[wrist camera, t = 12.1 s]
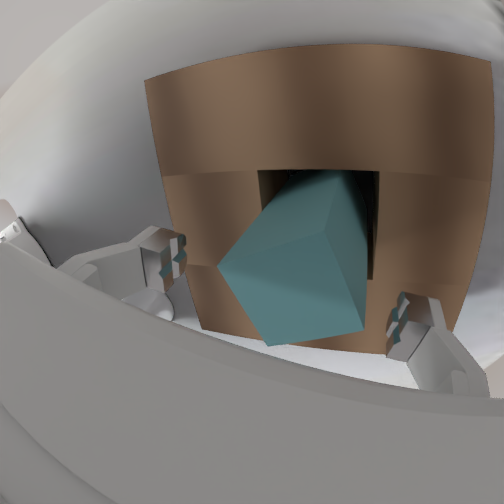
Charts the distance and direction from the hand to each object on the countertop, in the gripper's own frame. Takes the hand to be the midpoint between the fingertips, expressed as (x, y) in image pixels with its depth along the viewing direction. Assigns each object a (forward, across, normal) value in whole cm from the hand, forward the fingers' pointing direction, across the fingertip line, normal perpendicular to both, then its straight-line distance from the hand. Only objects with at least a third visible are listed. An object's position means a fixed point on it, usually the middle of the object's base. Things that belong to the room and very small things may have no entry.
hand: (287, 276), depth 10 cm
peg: (+11, 0, 0) cm, 11 cm away
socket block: (+11, -1, 0) cm, 11 cm away
